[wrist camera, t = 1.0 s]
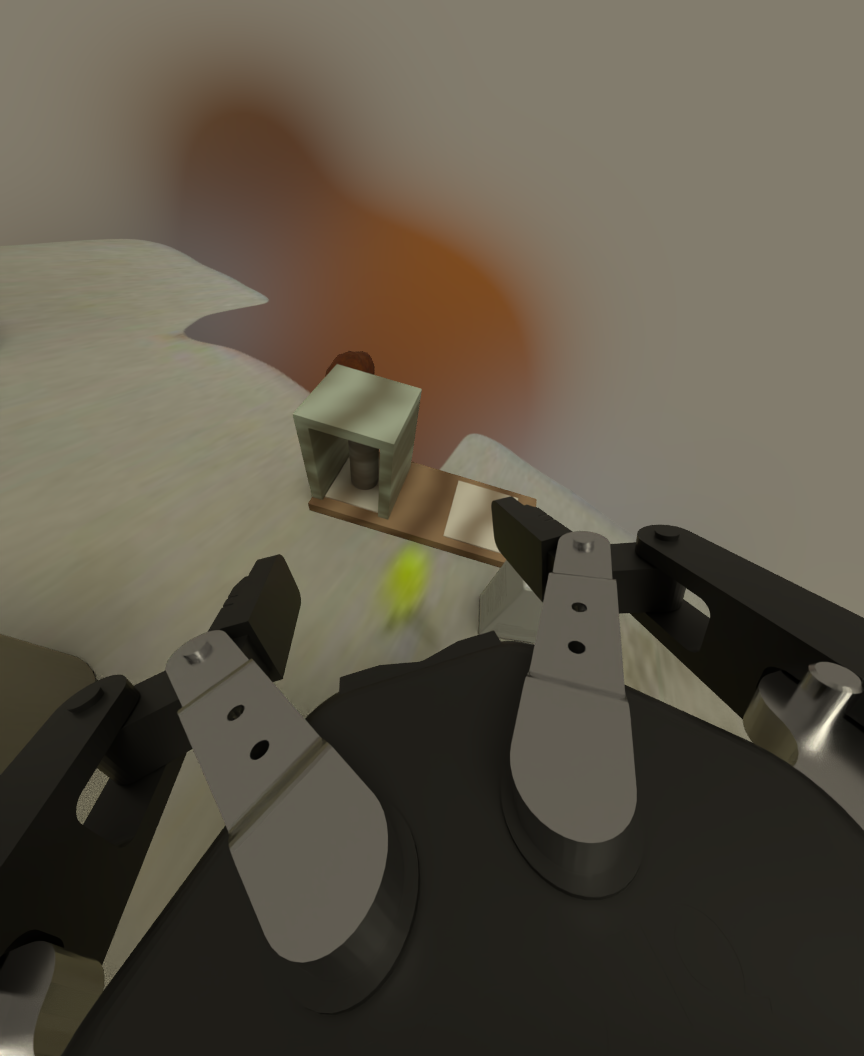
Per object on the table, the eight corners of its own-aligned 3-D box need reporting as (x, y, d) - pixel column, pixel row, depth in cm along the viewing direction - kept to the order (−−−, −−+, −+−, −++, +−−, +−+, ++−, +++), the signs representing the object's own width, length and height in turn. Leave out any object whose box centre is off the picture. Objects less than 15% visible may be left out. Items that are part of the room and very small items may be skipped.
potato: (387, 395, 51) (389, 355, 45) (348, 421, 45) (345, 380, 40) (354, 377, 52) (352, 336, 47) (312, 400, 47) (305, 357, 42)
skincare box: (531, 604, 34) (598, 546, 24) (535, 647, 31) (612, 602, 21) (476, 595, 33) (520, 533, 23) (475, 638, 31) (525, 588, 21)
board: (309, 509, 36) (286, 420, 26) (348, 449, 42) (340, 359, 32) (527, 575, 36) (588, 511, 26) (532, 504, 42) (582, 431, 32)
